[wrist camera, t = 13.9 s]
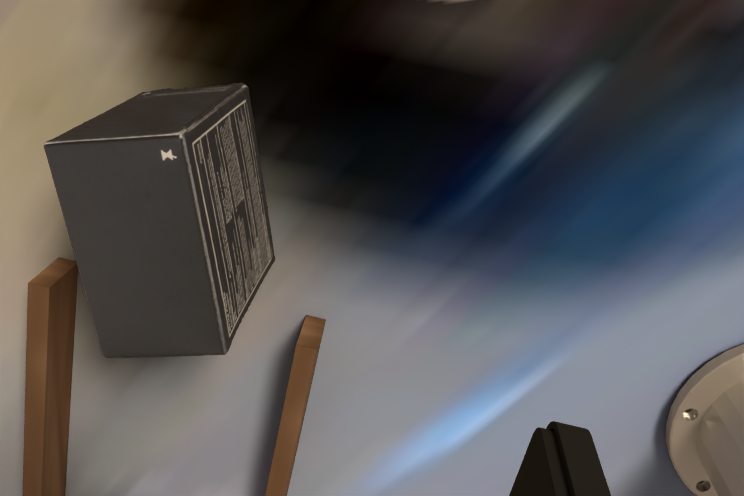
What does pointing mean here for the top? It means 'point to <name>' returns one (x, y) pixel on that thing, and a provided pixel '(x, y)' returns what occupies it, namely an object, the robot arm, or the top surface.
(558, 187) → the top surface
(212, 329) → the small box
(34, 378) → the wooden u-shaped frame
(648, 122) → the top surface
